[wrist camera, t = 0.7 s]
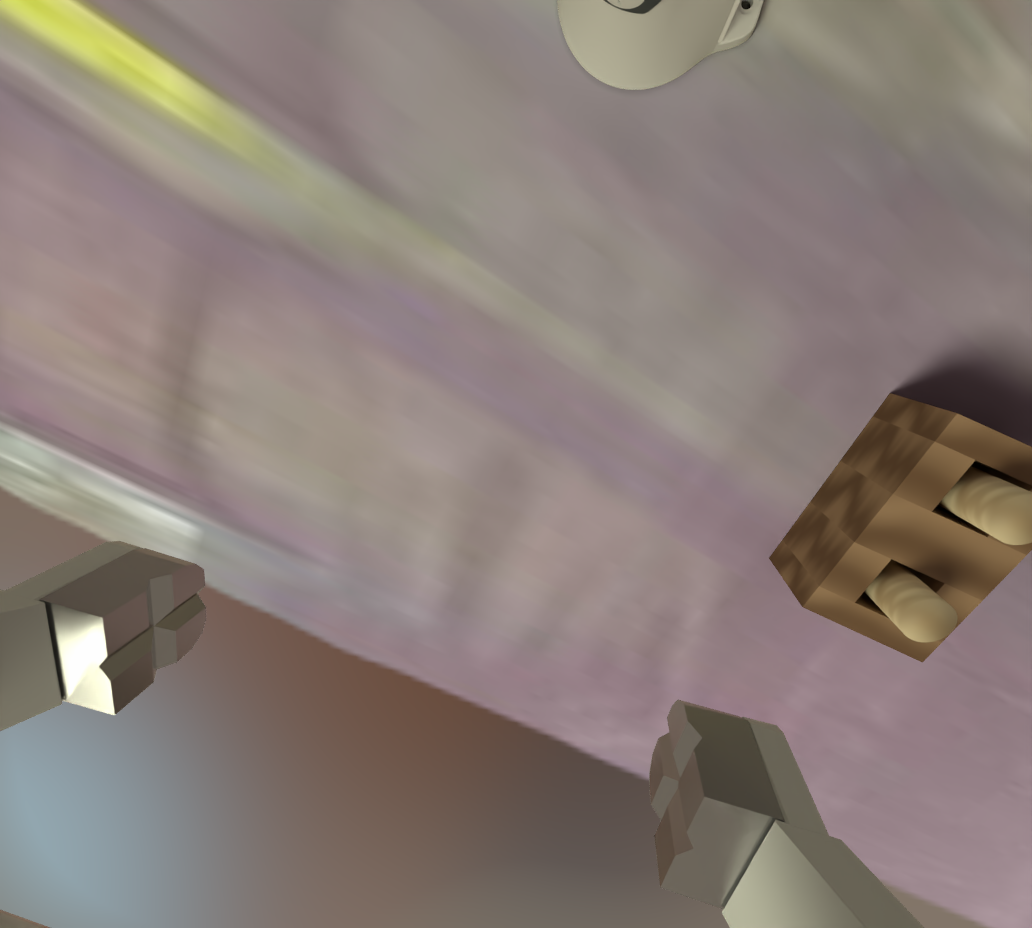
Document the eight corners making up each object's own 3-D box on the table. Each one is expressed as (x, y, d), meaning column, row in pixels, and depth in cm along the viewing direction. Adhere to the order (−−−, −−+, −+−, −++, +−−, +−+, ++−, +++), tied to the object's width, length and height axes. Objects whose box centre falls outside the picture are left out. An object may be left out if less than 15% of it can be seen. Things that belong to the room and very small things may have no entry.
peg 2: (942, 453, 42) (1018, 486, 34) (984, 472, 41) (1070, 509, 34) (911, 491, 43) (978, 530, 35) (952, 510, 43) (1027, 553, 35)
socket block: (890, 393, 45) (957, 413, 37) (1006, 445, 45) (1101, 478, 37) (769, 558, 52) (802, 607, 44) (869, 604, 52) (922, 662, 44)
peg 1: (868, 544, 45) (922, 592, 38) (907, 562, 45) (969, 613, 37) (841, 576, 46) (889, 629, 39) (879, 594, 46) (934, 649, 39)
